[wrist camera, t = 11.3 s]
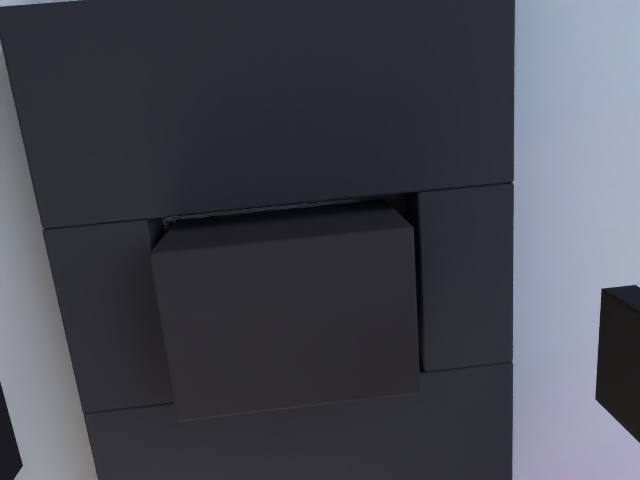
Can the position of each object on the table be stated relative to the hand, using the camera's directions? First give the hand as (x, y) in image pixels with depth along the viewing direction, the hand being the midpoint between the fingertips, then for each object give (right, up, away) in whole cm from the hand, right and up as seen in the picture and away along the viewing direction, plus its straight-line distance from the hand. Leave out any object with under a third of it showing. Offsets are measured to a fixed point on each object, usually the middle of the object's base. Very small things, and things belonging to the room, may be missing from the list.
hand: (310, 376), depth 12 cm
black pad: (-1, +2, +7) cm, 7 cm away
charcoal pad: (-1, +2, +7) cm, 7 cm away
